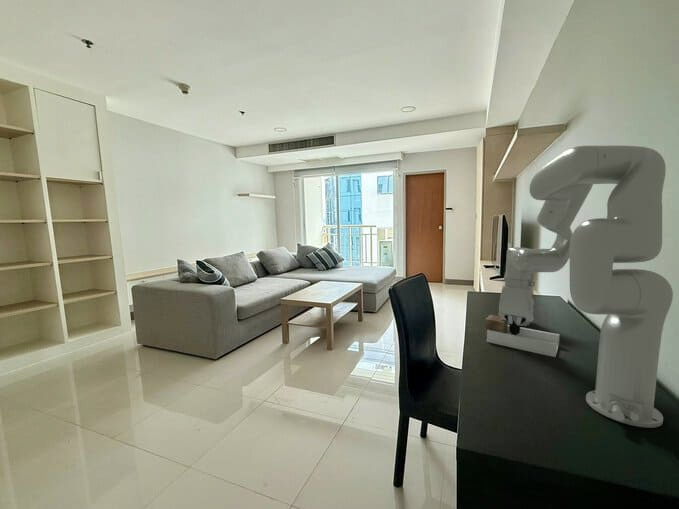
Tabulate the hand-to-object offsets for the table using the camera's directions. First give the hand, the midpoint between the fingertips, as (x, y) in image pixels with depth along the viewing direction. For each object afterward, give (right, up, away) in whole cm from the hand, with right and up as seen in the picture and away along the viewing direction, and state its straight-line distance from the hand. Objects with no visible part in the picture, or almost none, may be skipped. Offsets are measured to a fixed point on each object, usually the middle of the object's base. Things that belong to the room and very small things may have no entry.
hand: (514, 334), depth 108 cm
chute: (+2, -3, -1) cm, 4 cm away
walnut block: (-5, -1, +4) cm, 6 cm away
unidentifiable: (+13, -1, +22) cm, 25 cm away
